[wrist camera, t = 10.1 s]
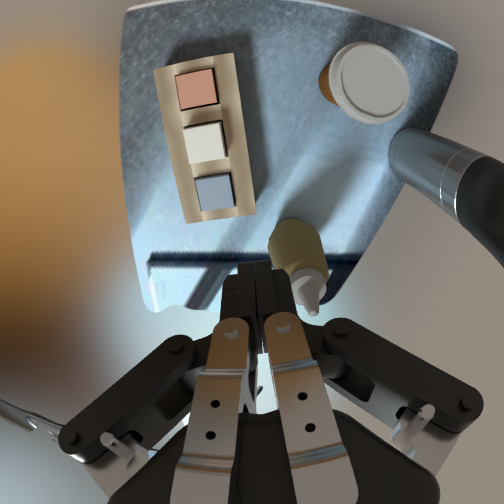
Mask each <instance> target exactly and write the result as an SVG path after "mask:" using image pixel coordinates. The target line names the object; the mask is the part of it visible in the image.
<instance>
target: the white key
mask: <svg viewBox="0 0 504 504" xmlns="http://www.w3.org/2000/svg"><path fill="white" fill-rule="evenodd" d="M183 134H184V139H185V145H186V150H187V154H188V159H189V164H194V163H200V162H205V161H211V160H217V159H224V158H225V156H226V146H225V140H224V134H223V128H222V122H221V121H218V122H212V123H207V124H201V125H196V126H191V127H187V128H186V129H184V130H183Z"/></svg>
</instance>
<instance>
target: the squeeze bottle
mask: <svg viewBox="0 0 504 504" xmlns="http://www.w3.org/2000/svg"><path fill="white" fill-rule="evenodd" d="M268 250H269V254H270V257H271V260H272V263H273V266H274V269H282V268H283V269H284V270H285V271H286V272H287V273H288V274H289V278H290V282H291V287H292V291H293V296H294V301H295V303H297V304H299V305H303V306H304V307H305V309H306V311H307V312H308V314H309V315H310V316H316V315H317V314H318V313H319V300H320V299H321V298H322V297H323V296H324V295H325V292H326V289H327V288H326V283H327V280H328V277H329V273H328V266H327V262H326V258H325V254H324V251H323V247H322V243H321V239H320V235H319V234H318V232H317V231H316V229H315V228H314V227H313V226H311V225H309V224H307V223H306V222H304V221H302V220H300V219H296V218H289V219H285V220H283V221H281V222H280V223H278V225H277V226H276V227H275V229H274V231H273V232H272V234H271V236H270V238H269V243H268Z"/></svg>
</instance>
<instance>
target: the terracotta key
mask: <svg viewBox="0 0 504 504" xmlns="http://www.w3.org/2000/svg"><path fill="white" fill-rule="evenodd" d="M176 83H177V88H178V94H179V100H180V106H181V109H185V108H190V107H195V106H200V105H205V104H210V103H216V102H219V98H218V92H217V85H216V79H215V73H214V71H213V70H212V69H208V70H203V71H198V72H193V73H189V74H184V75H180V76H176Z"/></svg>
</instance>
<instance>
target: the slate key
mask: <svg viewBox="0 0 504 504" xmlns="http://www.w3.org/2000/svg"><path fill="white" fill-rule="evenodd" d="M195 182H196V187H197V191H198V196H199V201H200V205H201V210H202V211H209V210H215V209H222V208H229V207H234V202H235V196H234V190H233V184H232V178H231V172H224V173H218V174H211V175H205V176H199V177H197V179H196V180H195Z"/></svg>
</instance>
